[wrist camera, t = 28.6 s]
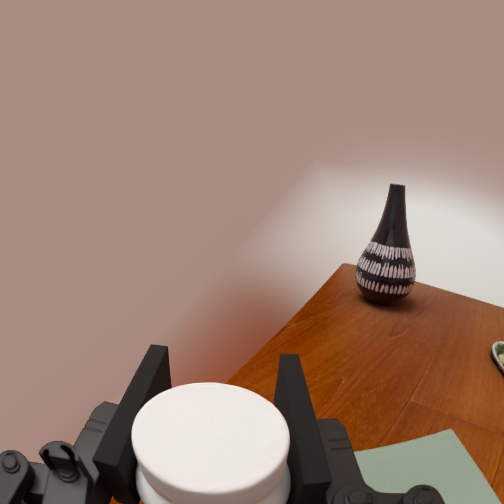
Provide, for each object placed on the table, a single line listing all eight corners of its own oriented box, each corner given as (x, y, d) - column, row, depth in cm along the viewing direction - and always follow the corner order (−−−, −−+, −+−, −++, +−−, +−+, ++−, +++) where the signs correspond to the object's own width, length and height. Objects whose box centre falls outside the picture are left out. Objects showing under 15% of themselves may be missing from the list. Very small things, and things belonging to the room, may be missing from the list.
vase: (343, 289, 77) (356, 179, 70) (392, 289, 78) (407, 187, 71) (365, 313, 62) (385, 180, 55) (419, 311, 63) (441, 191, 56)
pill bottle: (198, 481, 11) (186, 357, 9) (285, 515, 9) (326, 401, 7) (143, 539, 7) (78, 433, 5) (241, 587, 5) (258, 540, 3)
